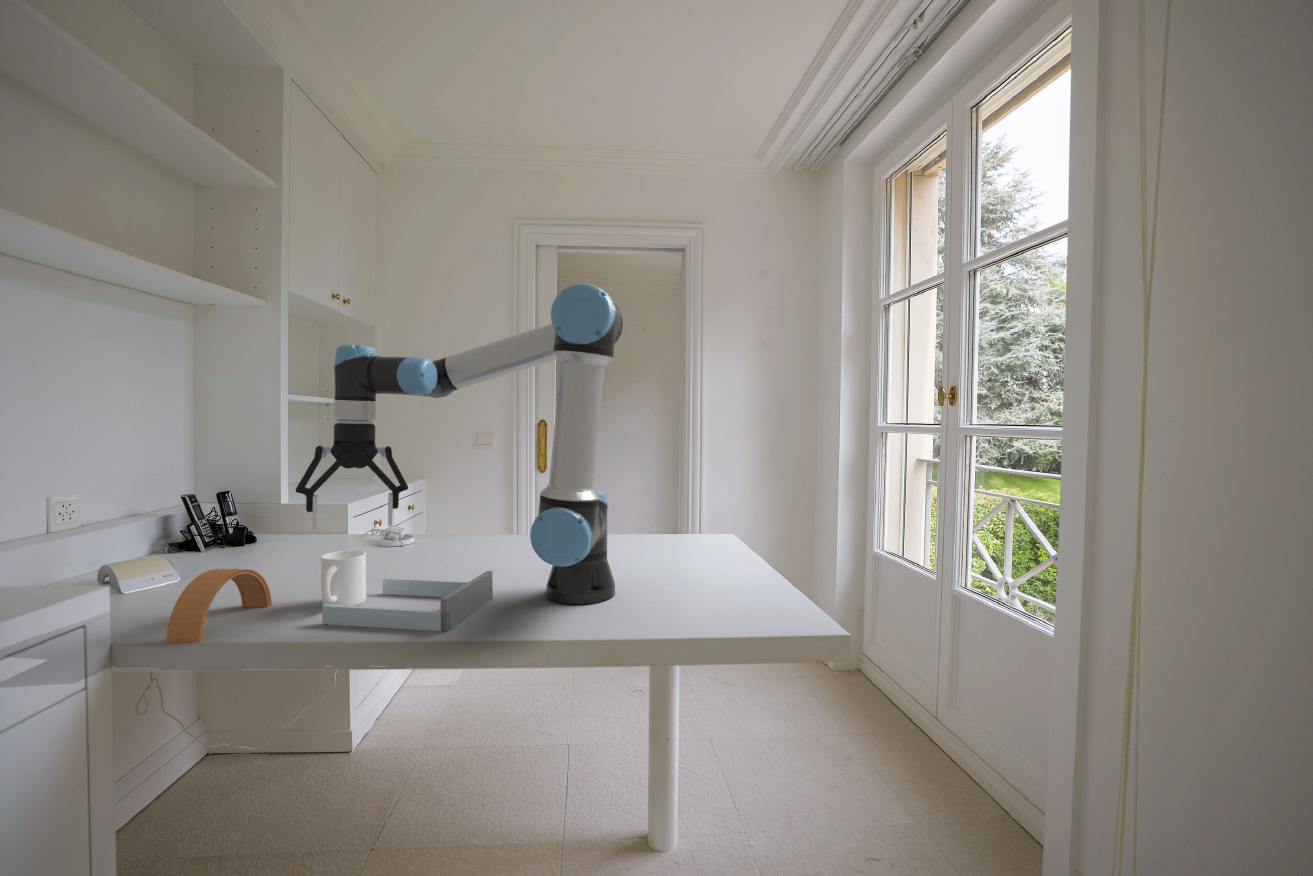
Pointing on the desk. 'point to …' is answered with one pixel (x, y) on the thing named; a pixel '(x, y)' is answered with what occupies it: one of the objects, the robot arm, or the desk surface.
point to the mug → (343, 578)
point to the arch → (202, 591)
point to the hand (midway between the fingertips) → (353, 526)
